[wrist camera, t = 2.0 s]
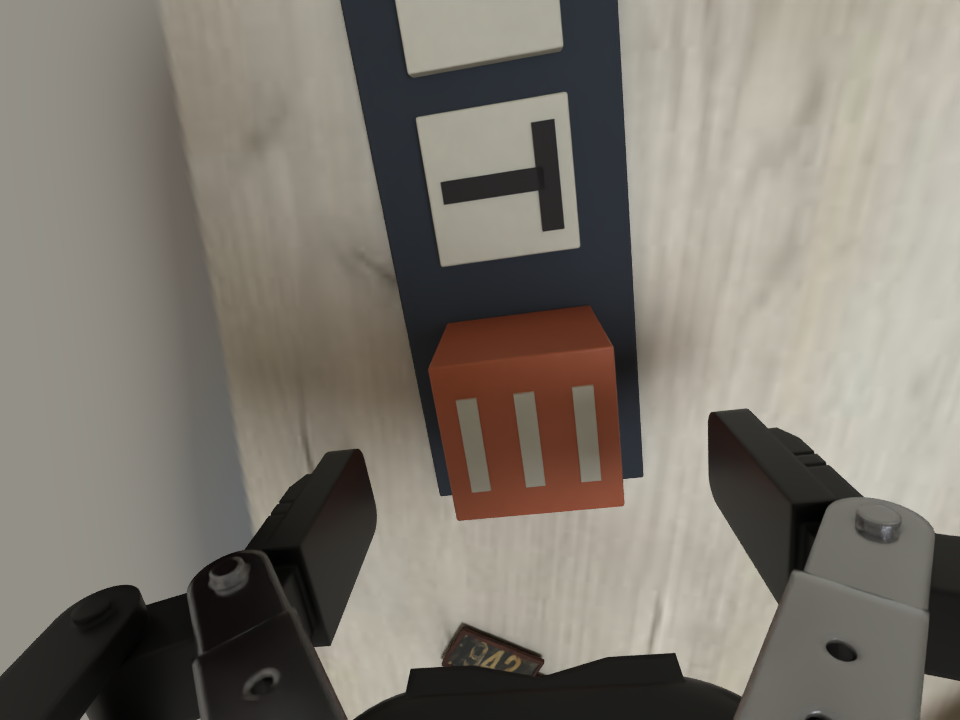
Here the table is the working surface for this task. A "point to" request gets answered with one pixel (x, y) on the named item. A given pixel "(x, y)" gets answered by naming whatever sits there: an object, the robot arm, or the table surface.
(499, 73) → the word mat
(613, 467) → the red striped block
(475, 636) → the key tag
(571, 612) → the table surface
